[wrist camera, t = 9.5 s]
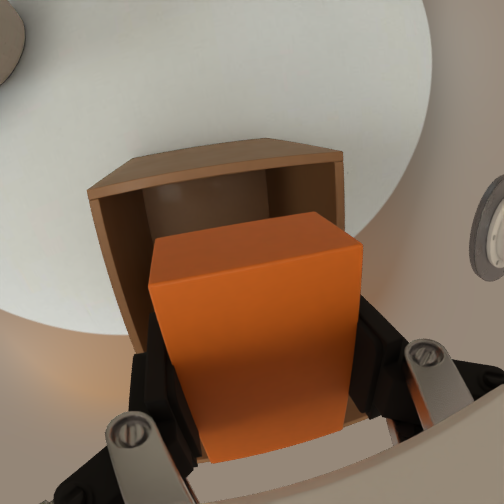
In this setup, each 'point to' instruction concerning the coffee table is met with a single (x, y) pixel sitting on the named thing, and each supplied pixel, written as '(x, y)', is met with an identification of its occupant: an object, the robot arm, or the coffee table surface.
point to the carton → (203, 204)
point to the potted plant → (10, 39)
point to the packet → (260, 329)
